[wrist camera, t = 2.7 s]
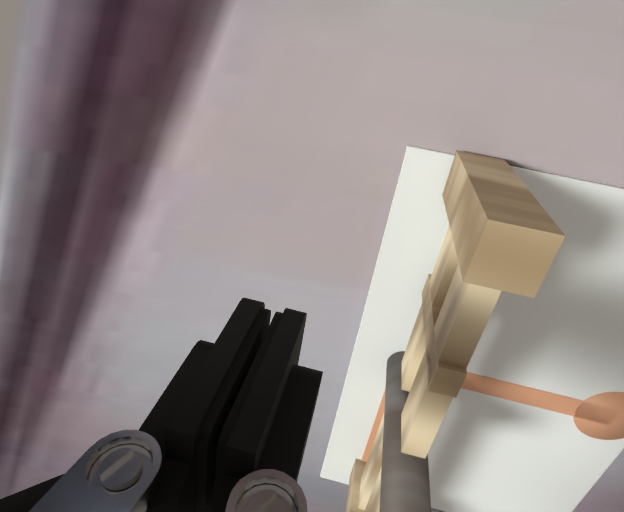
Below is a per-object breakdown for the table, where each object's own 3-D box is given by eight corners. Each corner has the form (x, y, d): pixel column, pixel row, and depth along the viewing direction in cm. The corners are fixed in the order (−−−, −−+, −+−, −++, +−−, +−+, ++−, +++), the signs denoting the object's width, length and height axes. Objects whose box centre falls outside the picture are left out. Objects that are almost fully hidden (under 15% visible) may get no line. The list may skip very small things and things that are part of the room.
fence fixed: (378, 481, 29) (369, 644, 21) (350, 473, 29) (331, 632, 22) (426, 353, 23) (438, 514, 16) (391, 345, 24) (385, 500, 16)
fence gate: (429, 355, 23) (439, 485, 16) (392, 346, 23) (388, 471, 16) (504, 159, 17) (565, 235, 11) (456, 150, 18) (488, 219, 11)
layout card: (548, 537, 29) (549, 541, 28) (320, 474, 30) (319, 477, 30) (804, 223, 17) (809, 226, 17) (407, 145, 18) (407, 146, 18)
